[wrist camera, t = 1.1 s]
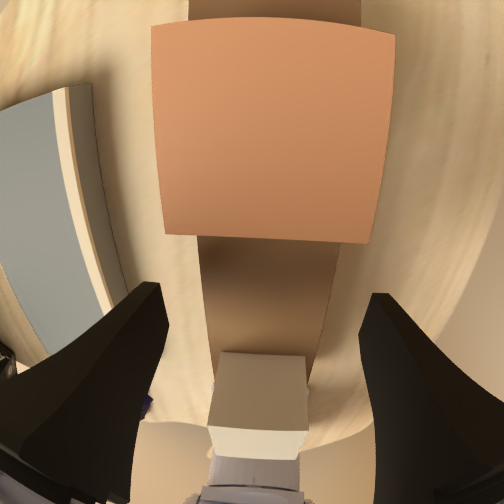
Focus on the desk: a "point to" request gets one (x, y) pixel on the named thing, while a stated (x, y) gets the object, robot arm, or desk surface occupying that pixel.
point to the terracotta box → (271, 126)
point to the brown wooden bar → (268, 241)
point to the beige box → (259, 406)
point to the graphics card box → (7, 363)
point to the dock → (56, 216)
